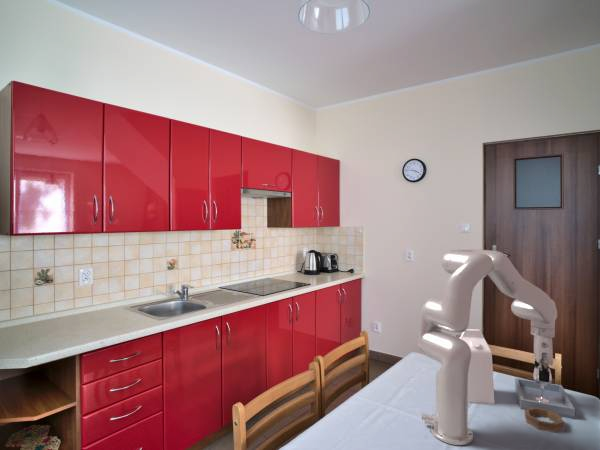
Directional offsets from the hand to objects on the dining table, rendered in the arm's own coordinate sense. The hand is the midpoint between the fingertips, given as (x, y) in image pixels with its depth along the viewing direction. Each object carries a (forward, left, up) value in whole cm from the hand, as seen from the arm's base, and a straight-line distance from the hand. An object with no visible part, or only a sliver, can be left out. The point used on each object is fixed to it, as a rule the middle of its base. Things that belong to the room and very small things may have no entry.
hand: (541, 376), depth 137 cm
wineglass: (0, 0, -9) cm, 9 cm away
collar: (-2, -16, -10) cm, 19 cm away
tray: (0, +1, -10) cm, 10 cm away
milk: (-24, -5, -10) cm, 26 cm away
